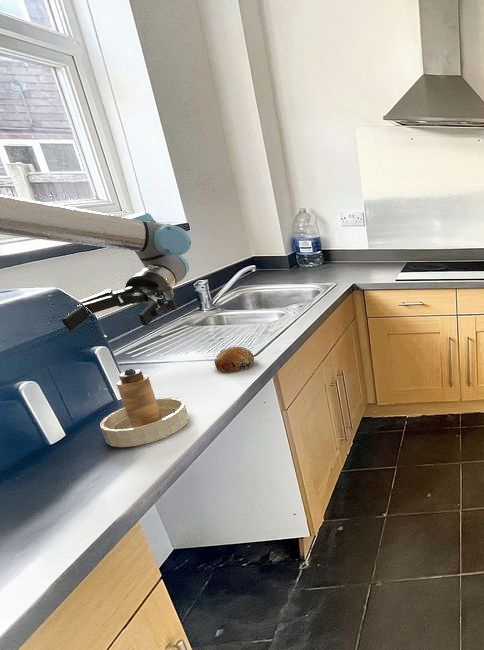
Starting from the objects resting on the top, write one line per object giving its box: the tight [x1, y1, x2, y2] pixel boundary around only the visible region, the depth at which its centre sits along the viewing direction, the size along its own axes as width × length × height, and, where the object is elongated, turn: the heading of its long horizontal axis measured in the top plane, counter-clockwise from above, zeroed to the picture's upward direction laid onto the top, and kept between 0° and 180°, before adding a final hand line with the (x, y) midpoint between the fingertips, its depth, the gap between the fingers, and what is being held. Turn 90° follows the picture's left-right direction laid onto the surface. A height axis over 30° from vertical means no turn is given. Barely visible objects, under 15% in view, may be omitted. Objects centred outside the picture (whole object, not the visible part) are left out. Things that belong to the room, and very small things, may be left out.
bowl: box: [99, 397, 190, 448], centre depth 92 cm, size 14×14×4 cm
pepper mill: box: [116, 368, 162, 428], centre depth 90 cm, size 5×5×14 cm
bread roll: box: [213, 345, 255, 374], centre depth 125 cm, size 10×10×8 cm
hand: (105, 322), depth 89 cm, fingers open, 13 cm apart
